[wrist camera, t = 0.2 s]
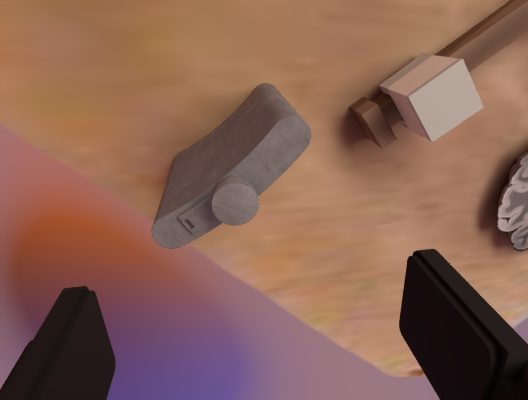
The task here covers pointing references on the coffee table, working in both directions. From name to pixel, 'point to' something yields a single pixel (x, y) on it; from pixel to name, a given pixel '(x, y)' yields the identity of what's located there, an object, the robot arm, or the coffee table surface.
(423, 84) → the block
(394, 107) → the rail
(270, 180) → the hip flask
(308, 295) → the coffee table surface
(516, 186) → the brain slice
